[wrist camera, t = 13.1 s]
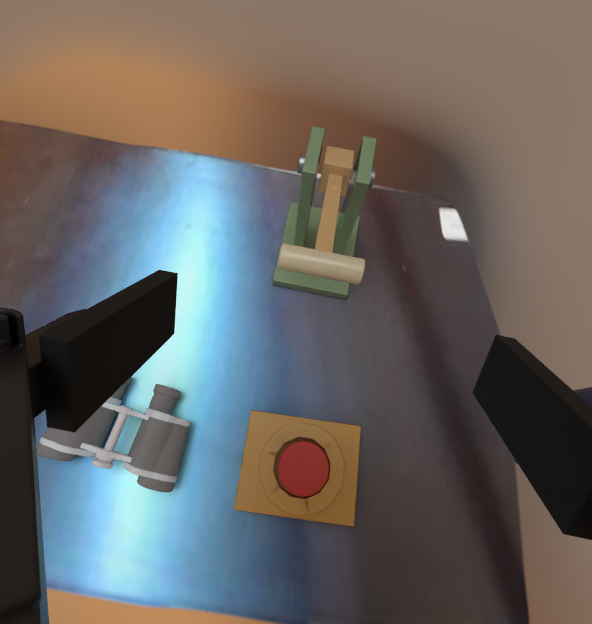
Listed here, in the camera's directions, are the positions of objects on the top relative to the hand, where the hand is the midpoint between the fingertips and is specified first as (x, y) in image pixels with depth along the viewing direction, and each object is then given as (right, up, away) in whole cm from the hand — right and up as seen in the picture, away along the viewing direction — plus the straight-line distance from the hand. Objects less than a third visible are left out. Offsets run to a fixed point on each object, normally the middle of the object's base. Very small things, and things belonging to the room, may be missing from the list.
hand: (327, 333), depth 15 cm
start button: (-1, -12, +15) cm, 19 cm away
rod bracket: (+1, +8, +26) cm, 27 cm away
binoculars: (-17, -10, +19) cm, 27 cm away
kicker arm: (+1, +7, +12) cm, 14 cm away
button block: (-1, -13, +19) cm, 23 cm away
